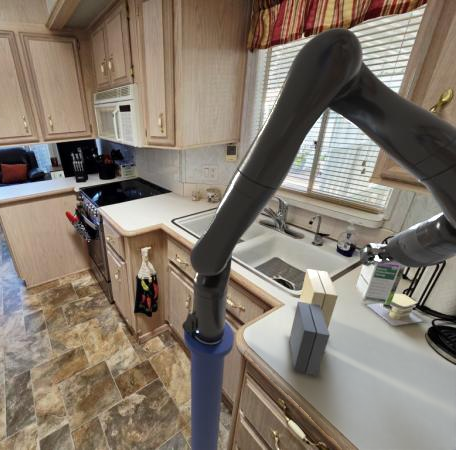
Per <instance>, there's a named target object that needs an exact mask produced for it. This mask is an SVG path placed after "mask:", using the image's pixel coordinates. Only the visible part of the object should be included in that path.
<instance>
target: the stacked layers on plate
mask: <svg viewBox="0 0 456 450" xmlns="http://www.w3.org/2000/svg"><path fill="white" fill-rule="evenodd" d="M416 304H418V301H416V300H414V299H413V298H411V297H410V296H408V295H407V294H405V293H395V294H394V297H393V299H392V302H391V304H390V305H386V304H380V303H370V304H369V303H368V304H366V306H367V307H368V308H369V309H371V310H372V311H373V312H374V313H376V314H377V315H379V316H380V317H381V318H383V319H384V320H385V321H386V322H387V323H389V324H390V325H391V326H393V327H395V326H402V325H409V324H416V323H421V322H423V320H422V319H421V318H419V317H418V316H417V315H415V314H413V313H414V310H413V309H414V308H416Z"/></svg>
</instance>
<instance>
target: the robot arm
mask: <svg viewBox="0 0 456 450" xmlns="http://www.w3.org/2000/svg"><path fill="white" fill-rule="evenodd" d="M363 55H364V54H363V47H362V43H361V40H360V39H359V37H358V36H357V35H356V34H355V33H354V32H353V31H352V30H350V29H347V28H345V27H334V28H329V29H326V30H324V31H321V32H320V33H318V34H316V35H315V36H313V37H311V39H310V40H308V41H307V42H306V43H305V44H304V45H303V46H302V47H301V48H300V50H299V51H298V52H297V53H296V55H295V57H294V59H293V61H292V62H291V65H290V67H289V69H288V71H287V74H286V76H285V78H284V81H283V82H282V83H283V84H282V85H281V87H280V90H279V93H278V94H277V97H276V99H275V101H274V102H273V106H272V108H271V110H270V111H269V114H268V115H267V118H266V119H265V122H264V123H263V125H262V127H261V128H260V130H259V131H258V132H257V134H256V136H255V137H254V139H253V140H252V142H251V144H250V145H249V147H248V149H247V150H246V152H245V154H244V156H243V157H242V159H241V161H240V162H239V164H238V165H237V167H236V169H235V171H234V172H233V174H232V176H231V178H230V180H229V182H228V184H227V186H226V188H225V190H224V192H223V194H222V196H221V198H220V201H219V203H218V205H217V208H216V210H215V212H214V215H213V217H212V219H211V221H210V223H209V225H208V226H207V228H206V230H205V231H204V232H203V234H201V236H199V238H198V239H197V240H196V242H195V243H194V245H193V246H192V248H191V250H190V253H189V262H190V266H191V268H192V269H193V271H194V272H195V273H194V277H193V307H192V309H191V310H192V311H191V313H187V317H186V318H185V321H184V322H183V323H182V329H183V332H184V331H186V333H187V334H189V333H190V332H191V333H192V337H194V338H196V339H197V340H198V341H199V342H200V343H202V344H205V345H210V346H211V345H217V344H219V343H220V342H222V340H223V339H224V334H225V332H224V331H225V321H226V315H227V314H226V313H227V304H228V303H227V301H228V289H229V288H228V287H229V282H230V278H231V272H232V271H231V269H232V260H233V252H234V250H235V248H236V246H237V244H238V243H239V241H240V240H241V238H242V237H243V236H244V234H245V233H246V232H247V231H248V230H249V229H250V227H252V225H253V224H254V223H255V221H256V220H257V219H258V218H259V217H260V215H261V214H262V213H263V212H264V210H265V209H266V208H267V206H268V205H269V204H270V203H271V201H272V199H273V198H274V197H275V195H276V194H277V192H278V191H279V189H280V188H281V187H282V185H283V183H284V181H285V180H286V178H287V177H288V175H289V174H290V171H291V169H292V167H293V165H294V163H295V161H296V159H297V156H298V154H299V151H300V150H301V147H302V145H303V144H304V142H305V140H306V139H307V136H308V135H309V133H310V132H311V130H312V129H313V128H314V126H315V125H316V124H317V122H318V121H319V120H320V118H321V117H322V116H323V115H324V113H325V112H326V111H327V109H329V110H330V111H332V112H334V113H335V114H337V115H339V116H341V117H342V118H344V119H345V120H346V121H348V122H349V123H351V124H352V125H354V126H355V127H356V128H358V130H360V132H362V133H363V134H364V135H366V136H367V137H368V138H369V139H370V140H371V141H372V142H373V143H374V144H375V145H376V146H377V147H378V148H379V149H380V150H381V151H382V152H384V153H385V154H386V155H387V156H388V158H390V159H391V160H392V161H394V162H395V163H396V164H397V165H398V166H399V167H401V168H402V169H403V170H404V171H405V172H406V173H408V174H409V175H411V176H412V177H413V178H414V179H416V180H417V181H418V182H419V183H421V184H422V185H423V186H424V187H425V188H426V189H427V191H428V192H429V194H430V196H431V197H432V199H433V201H434V202H435V204H436V205H437V206H438V208H439V209H440V211H441V212H440V213H438V214H435V215H434V216H432V217H429V218H428V219H426V220H424V221H422V222H419V223H416V224H414V225H412V226H410V227H409V228H406V229H405V230H403V231H401V232H399V233H397V234H395V235H394V236H393V237H391V238H390V240H389V241H388V243H387V244H384V245H385V246H381V247H380V248H373V247H372V246H371V245H370V243H366V244H364V245H363V246H362V247H361V248H360V250H359V252H358V253H359V261H361V264H362V266H363V265H366V266H367V265H370V264H372V263H374V262H379V263H387V262H394V263H395V262H399V263H400V264H402V265H405V266H406V267H405V268H416V269H418V268H419V269H422V268H427V267H432V266H437V265H441V264H445V261H446V260H450V259H452V258H454V257H456V126H454V125H453V124H451V122H449V121H447V120H446V119H444V118H442V117H440V116H439V115H438V114H435V113H433V112H432V111H430V110H428V109H426V108H424V107H422V106H420V105H418V104H417V103H415V102H413V101H411V100H409V99H407V98H406V97H404V96H402V95H401V94H399V93H398V92H396V91H395V90H393V89H392V88H391V87H389V86H388V85H387V84H385V83H384V82H383V81H382V80H381V79H380V78H379V77H377V76H376V74H375V73H374V72H373V71H372V70H371V69H370V67H368V65H367V64H366V63H365V62H364V61H363V58H364V57H363ZM374 254H375V259H374ZM383 258H384V259H383Z"/></svg>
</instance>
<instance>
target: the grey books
mask: <svg viewBox="0 0 456 450" xmlns="http://www.w3.org/2000/svg"><path fill="white" fill-rule="evenodd" d="M329 338H330V332H329V328H328V329H327V326H326V323H325V320H324V317H323V314H322V311H321V308H320V305H316V304H310V303H309V304H308V303H304V302H299V301H297V303H296V308H295V313H294V316H293V321H292V326H291V329H290V334H289V340H288V341H289V346H290V354H291V359H292V367H293V371H295V372H299V373H301V374H306V375H311V376H313V377H317V376H318V373H319V370H320V366H321V363H322V361H323V357H324V354H325V351H326V347H327V345H328V342H329Z"/></svg>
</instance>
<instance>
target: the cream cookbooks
mask: <svg viewBox="0 0 456 450" xmlns="http://www.w3.org/2000/svg"><path fill="white" fill-rule="evenodd" d="M338 297H339V295H338V292H337V290H336V288H335V286H334V283H333V281H332V279H331V276H330V274H329V272H328V271H325V270H317V269H309V268H306V270H305V275H304V279H303V283H302V288H301V292H300V296H299V301H298V302H304V303H308V304H309V303H310V304H316V305H320V308H321V311H322V314H323V317H324V320H325V323H326V326H327V329H328V330H329V326H330V323H331V320H332V317H333V313H334V310H335V307H336V303H337V300H338Z"/></svg>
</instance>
